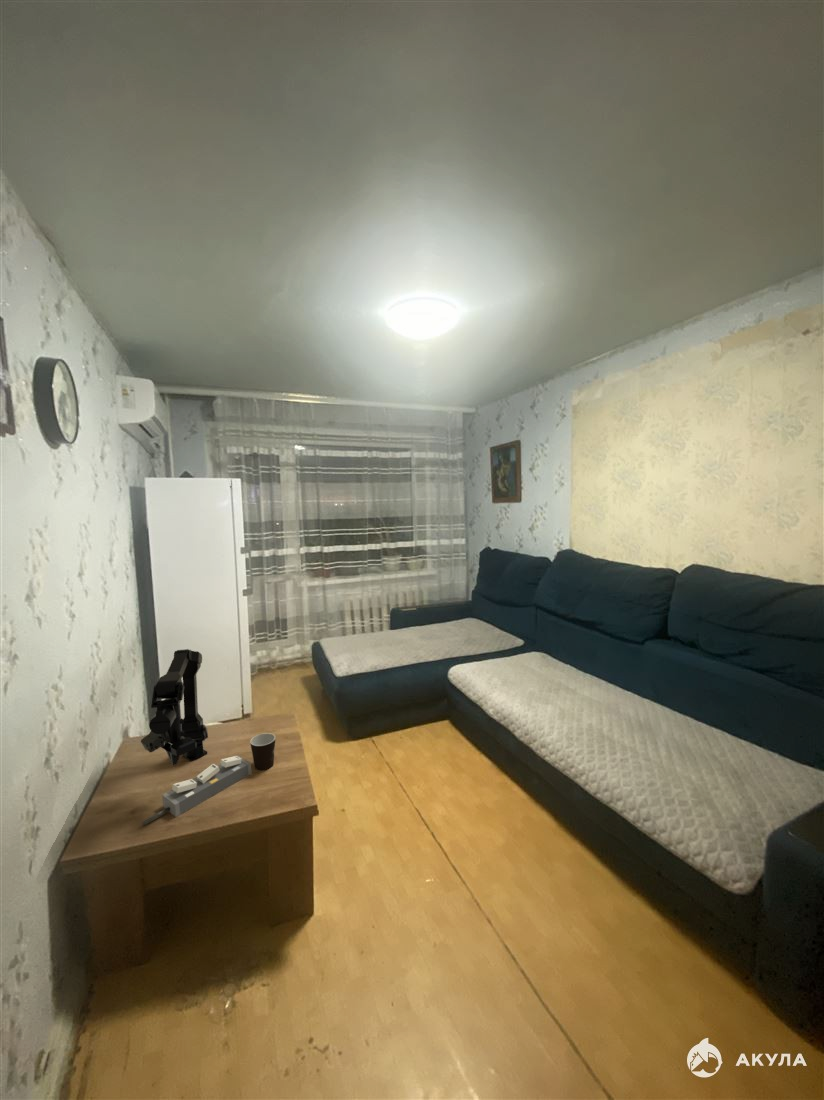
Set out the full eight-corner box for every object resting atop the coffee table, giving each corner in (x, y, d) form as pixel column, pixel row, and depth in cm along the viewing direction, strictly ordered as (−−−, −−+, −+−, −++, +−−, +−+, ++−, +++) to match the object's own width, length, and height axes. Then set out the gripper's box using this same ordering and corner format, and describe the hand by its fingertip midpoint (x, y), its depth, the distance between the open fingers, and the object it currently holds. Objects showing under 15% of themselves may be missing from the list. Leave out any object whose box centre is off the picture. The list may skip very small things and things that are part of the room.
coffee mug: (269, 774, 154) (267, 747, 153) (246, 771, 156) (245, 744, 155) (285, 755, 166) (283, 730, 164) (264, 753, 167) (262, 728, 166)
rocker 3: (219, 764, 151) (220, 759, 151) (235, 760, 156) (236, 755, 156) (225, 767, 149) (226, 762, 149) (240, 763, 154) (241, 758, 154)
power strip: (136, 820, 132) (135, 807, 132) (237, 766, 159) (237, 755, 159) (149, 832, 127) (148, 819, 127) (251, 773, 154) (250, 762, 154)
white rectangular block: (172, 789, 138) (173, 783, 138) (190, 784, 143) (191, 779, 143) (177, 793, 136) (178, 787, 136) (195, 787, 141) (196, 782, 141)
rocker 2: (198, 780, 145) (196, 776, 144) (214, 767, 149) (213, 763, 149) (203, 783, 143) (201, 779, 142) (219, 770, 147) (218, 766, 147)
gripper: (130, 720, 139) (134, 766, 141) (158, 738, 128) (162, 788, 130) (166, 706, 148) (169, 750, 150) (195, 722, 137) (199, 769, 139)
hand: (174, 764), depth 142 cm, fingers closed
